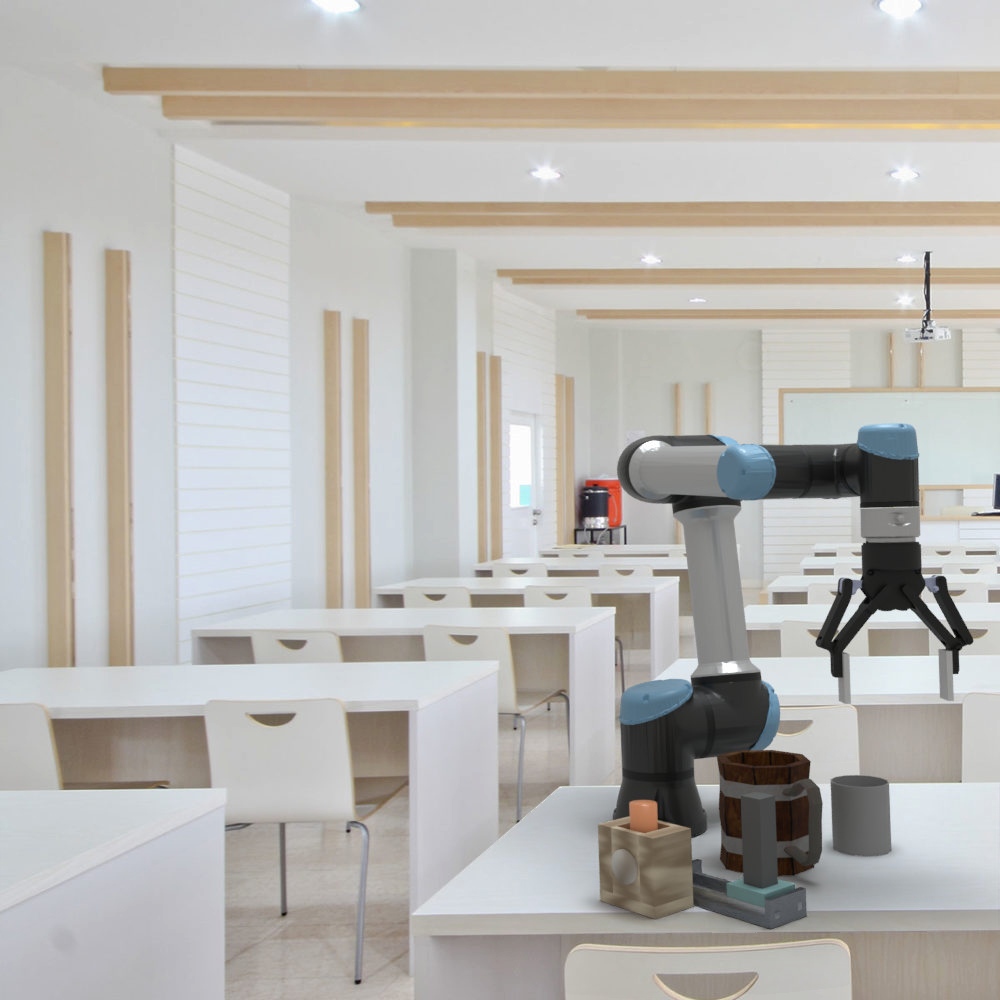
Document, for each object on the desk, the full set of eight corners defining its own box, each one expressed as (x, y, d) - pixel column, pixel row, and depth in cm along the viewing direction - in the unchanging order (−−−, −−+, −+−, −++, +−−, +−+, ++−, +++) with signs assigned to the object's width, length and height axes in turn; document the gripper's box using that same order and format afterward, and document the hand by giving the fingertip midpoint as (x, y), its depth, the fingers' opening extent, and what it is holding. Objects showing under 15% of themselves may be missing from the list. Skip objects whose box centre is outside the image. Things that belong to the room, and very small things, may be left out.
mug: (701, 857, 172) (697, 755, 173) (778, 845, 177) (775, 746, 178) (778, 895, 154) (774, 780, 154) (862, 881, 159) (858, 770, 159)
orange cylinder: (625, 864, 152) (623, 803, 153) (644, 859, 155) (643, 798, 155) (645, 870, 150) (643, 807, 150) (664, 864, 152) (662, 802, 152)
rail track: (662, 895, 155) (661, 869, 155) (698, 883, 160) (697, 858, 160) (770, 929, 141) (769, 900, 141) (806, 915, 146) (805, 888, 146)
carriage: (726, 896, 147) (723, 795, 148) (757, 886, 151) (754, 788, 151) (764, 907, 143) (761, 803, 143) (795, 896, 146) (792, 795, 147)
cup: (894, 857, 170) (891, 787, 170) (835, 855, 171) (833, 786, 172) (887, 841, 178) (884, 775, 178) (831, 840, 180) (828, 774, 180)
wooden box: (598, 901, 154) (595, 824, 154) (638, 889, 158) (635, 814, 158) (653, 919, 146) (650, 839, 146) (693, 906, 150) (691, 828, 151)
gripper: (805, 543, 151) (810, 708, 151) (996, 538, 152) (1001, 702, 151) (789, 542, 159) (794, 699, 158) (971, 537, 159) (977, 693, 159)
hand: (895, 701), depth 155 cm, fingers open, 13 cm apart
